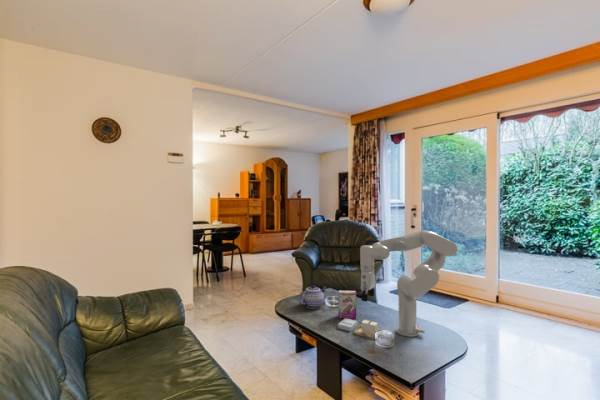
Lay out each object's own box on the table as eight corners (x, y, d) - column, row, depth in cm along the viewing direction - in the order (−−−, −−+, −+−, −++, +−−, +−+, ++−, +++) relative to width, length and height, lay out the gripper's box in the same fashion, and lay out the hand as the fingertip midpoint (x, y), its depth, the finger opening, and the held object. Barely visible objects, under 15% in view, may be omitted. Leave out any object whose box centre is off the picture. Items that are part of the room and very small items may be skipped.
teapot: (304, 314, 195) (304, 291, 195) (292, 307, 208) (291, 285, 207) (334, 305, 209) (333, 284, 209) (320, 299, 222) (320, 279, 221)
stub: (378, 333, 165) (378, 322, 165) (375, 336, 162) (375, 325, 162) (364, 330, 170) (364, 319, 170) (361, 332, 167) (361, 322, 166)
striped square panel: (357, 325, 178) (357, 321, 178) (350, 331, 170) (350, 327, 170) (345, 322, 182) (345, 318, 182) (338, 328, 174) (338, 323, 174)
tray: (382, 333, 167) (382, 330, 167) (376, 340, 159) (376, 337, 159) (359, 327, 175) (359, 324, 175) (353, 333, 167) (353, 330, 167)
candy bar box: (338, 318, 187) (338, 292, 187) (338, 315, 192) (338, 290, 192) (356, 319, 186) (356, 293, 186) (356, 315, 191) (355, 290, 191)
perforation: (348, 332, 168) (348, 332, 168) (348, 332, 168) (348, 332, 168) (336, 329, 172) (336, 329, 172) (336, 329, 172) (336, 329, 172)
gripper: (368, 272, 157) (368, 304, 157) (379, 265, 171) (379, 294, 172) (354, 270, 161) (355, 301, 162) (366, 263, 176) (367, 292, 176)
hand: (367, 298), depth 167 cm, fingers open, 9 cm apart
